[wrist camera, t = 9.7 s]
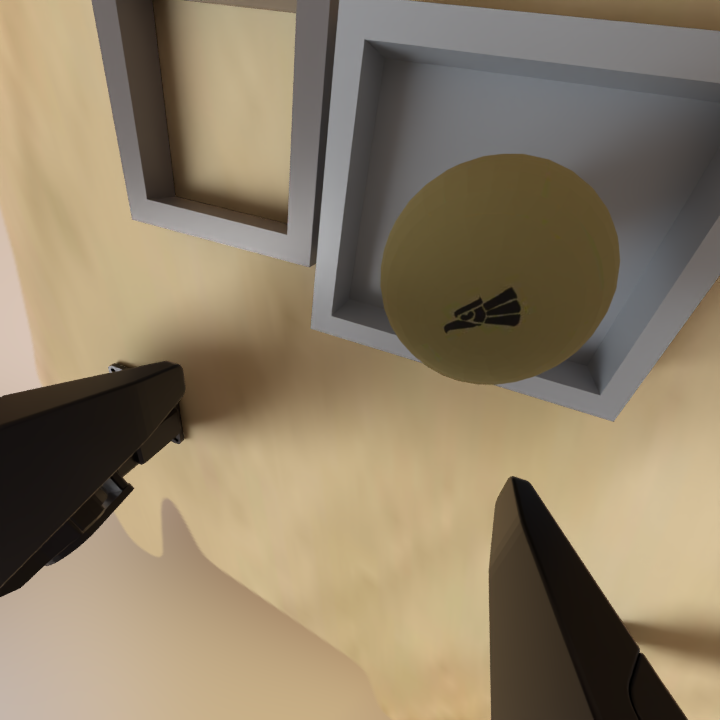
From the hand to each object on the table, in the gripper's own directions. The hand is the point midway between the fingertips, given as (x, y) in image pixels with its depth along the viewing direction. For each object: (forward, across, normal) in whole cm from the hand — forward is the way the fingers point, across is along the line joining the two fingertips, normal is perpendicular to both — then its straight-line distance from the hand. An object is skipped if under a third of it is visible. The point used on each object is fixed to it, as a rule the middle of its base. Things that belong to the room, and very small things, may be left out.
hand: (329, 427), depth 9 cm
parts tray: (+11, -3, -4) cm, 12 cm away
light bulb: (+10, -3, -4) cm, 12 cm away
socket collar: (+12, +10, -6) cm, 17 cm away
